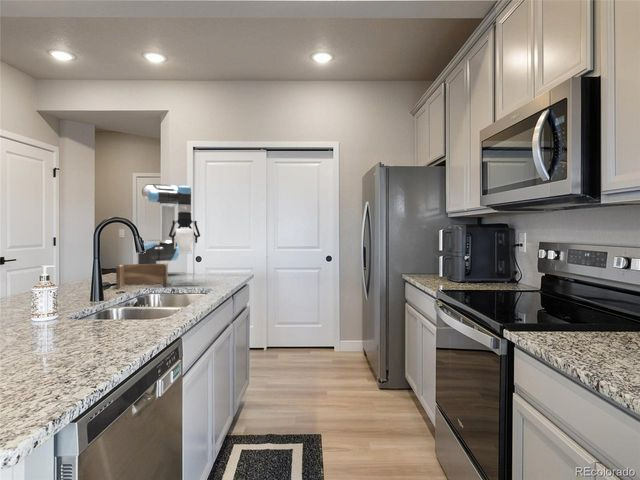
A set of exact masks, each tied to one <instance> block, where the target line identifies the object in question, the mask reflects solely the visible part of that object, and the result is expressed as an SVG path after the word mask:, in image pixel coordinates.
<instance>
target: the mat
mask: <svg viewBox="0 0 640 480" xmlns="http://www.w3.org/2000/svg"><path fill="white" fill-rule="evenodd" d="M193 285H197V286H199V281H198V280H195V281H172V282H171V284H170V287H171V286H174V287H191V286H193Z"/></svg>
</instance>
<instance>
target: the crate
mask: <svg viewBox="0 0 640 480" xmlns="http://www.w3.org/2000/svg"><path fill="white" fill-rule="evenodd" d="M115 268H116V270H115V272H116V273H115V274H116V281H115V282H116V283H115V286H116V290H118V289H119V288H120V289H121V288H123V287H124V286H126V285H127V286H128V285H130V284H133V285H153V284H156V283H158V284H162V287H163V286H166V287H167V286H168V283H169V282H168V281H169V280H168V277H169V276H168V275H169V274H168V263H156V264H138V263H135V264H133V263H131V264H120V265H116V266H115ZM124 284H126V285H124ZM156 285H157V284H156ZM130 286H131V285H130ZM120 289H119V290H120Z"/></svg>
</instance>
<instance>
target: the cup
mask: <svg viewBox="0 0 640 480" xmlns="http://www.w3.org/2000/svg"><path fill="white" fill-rule="evenodd" d="M175 231H176V235H175V238H176V242H177V244H178V245H179V250H178V254H179V255H181V254H182V255H183V254H185V255H186V254H192V242H194V238H195V236H194V232H195V231H194V228H192V229H190V228H180V229H177V228H175ZM193 231H194V232H193Z"/></svg>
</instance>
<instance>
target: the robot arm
mask: <svg viewBox="0 0 640 480" xmlns="http://www.w3.org/2000/svg"><path fill="white" fill-rule="evenodd" d="M141 194H142V197H143V198H144V199H146V200H148V201H149V203H159V205H160V206H161V240H160V241H159V244H157V243H156V242H149V243H148V242H147V243H143V244H144V246H145V250H146V253H144V254H139V253H138V252H137V264H157V262H166V261H167V262H169V261H170V262H171V261H172V262H173V261H176V260H178V258H179V255H180V254H178V250H179V244H178V242H177V240H176V236H175V235H176V229H182V228H188V229H193V228H192V227H191V224H193V225H194V228H195V231H196V232H195V231H194V230H193V232H194V238H193V249H196V244H197V243H198V238H199V237H201V233H200V231H199V230H200V229H199V228H198V225H197V224H198V223H197V220H192V187H190V186H189V185H179V186H177V185H174V184H162V183H161V184H157V183H151V184H146V185H145V186H144V187H143V188H142V190H141ZM176 206H177V211H178V212H177V220H175V219H176V216H175V215H176V214H175V213H176ZM177 224H178V227H177V228H176V225H177Z"/></svg>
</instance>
